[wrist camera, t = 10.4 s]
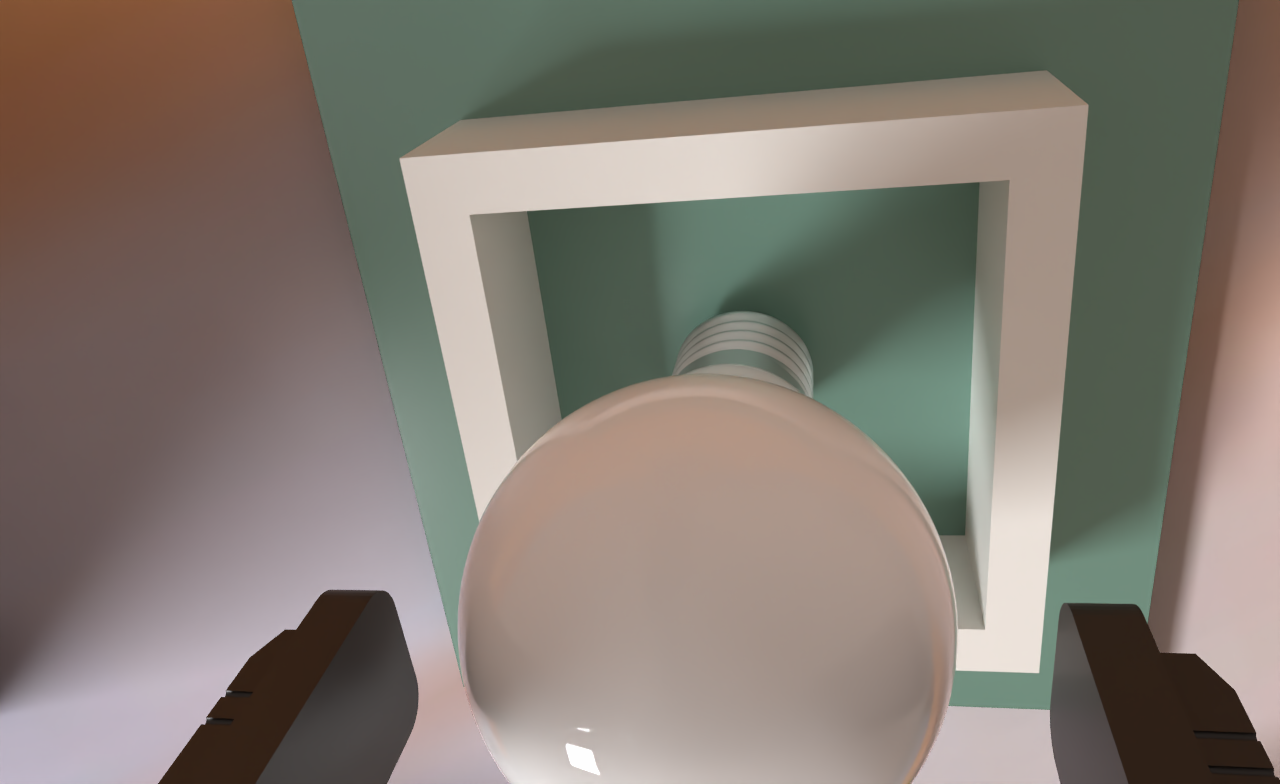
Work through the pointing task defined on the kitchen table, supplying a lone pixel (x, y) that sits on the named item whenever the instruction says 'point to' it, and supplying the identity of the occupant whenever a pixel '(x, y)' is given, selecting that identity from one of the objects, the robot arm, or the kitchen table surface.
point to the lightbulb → (709, 587)
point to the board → (801, 249)
